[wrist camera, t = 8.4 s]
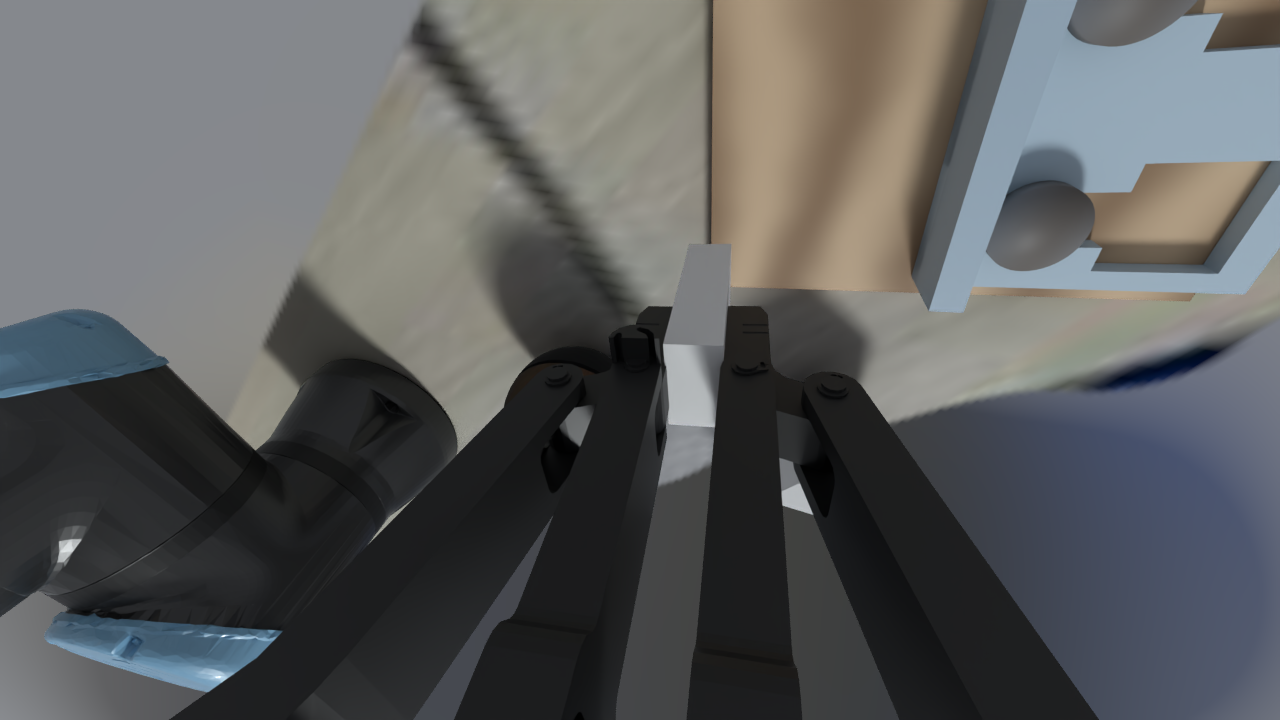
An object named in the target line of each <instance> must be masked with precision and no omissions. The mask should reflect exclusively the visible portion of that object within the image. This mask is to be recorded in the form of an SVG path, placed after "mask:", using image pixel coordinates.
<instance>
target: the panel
mask: <svg viewBox="0 0 1280 720" xmlns="http://www.w3.org/2000/svg"><path fill="white" fill-rule="evenodd" d="M1076 2H1077V0H988V2H987V6H986V10H985V13H984V17H983V20H982V24H981V28H980V31H979V35H978V38H977V42H976V46H975V49H974V53H973V57H972V60H971V64H970V67H969V71H968V75H967V78H966V82H965V85H964V89H963V93H962V96H961V100H960V103H959V107H958V111H957V114H956V118H955V121H954V125H953V129H952V132H951V136H950V139H949V143H948V147H947V150H946V154H945V157H944V161H943V165H942V168H941V172H940V175H939V179H938V183H937V186H936V190H935V193H934V197H933V201H932V204H931V208H930V211H929V215H928V219H927V222H926V226H925V229H924V233H923V237H922V240H921V244H920V248H919V251H918V255H917V258H916V262H915V266H914V269H913V273H912V276H911V277H912V279H913V281H914V283H915V285H916V287H917V289H918V291H919V293H920V295H921V297H922V299H923V301H924V303H925V305H926V307H927V309H928V311H937V312H962V313H963V312H964V309H965V307H966V304H967V301H968V298H969V296H970V293H971V290H972V287H1005V288H1040V289H1076V290H1111V291H1147V292H1182V293H1217V294H1245V293H1246V292H1247V291H1248V289H1249V288H1250V287H1251V285H1252V284H1253V283H1254V281H1255V280H1256V279H1257V277H1258V276H1259V275H1260V273H1261V272H1262V270H1263V269H1264V268H1265V266H1266V265H1267V264H1268V262H1269V261H1270V260H1271V258H1272V257H1273V256H1274V254H1275V253H1276V252H1277V250H1278V249H1279V248H1280V44H1277V45H1262V46H1246V47H1231V48H1216V49H1205V48H1206V46H1207V44H1208V42H1209V40H1210V38H1211V36H1212V34H1213V32H1214V30H1215V28H1216V26H1217V24H1218V22H1219V20H1220V18H1221V17H1222V15H1223V13H1197V14H1184V15H1183V16H1182V17H1180V18H1179V19H1178V20H1177V21H1175V22H1174V23H1173V24H1171V25H1170V26H1168V27H1167V28H1165V29H1164V30H1162V31H1160V32H1159V33H1157V34H1155V35H1153V36H1151V37H1149V38H1147V39H1145V40H1142V41H1139V42H1136V43H1133V44H1129V45H1125V46H1117V47H1107V46H1099V45H1091V44H1087V43H1084V42H1082V41H1080V40H1078V39H1076V38H1075V37H1074V36H1073V35H1072V34H1071V33H1070V32H1069V31H1068V29H1067V27H1068V24H1069V22H1070V19H1071V16H1072V13H1073V11H1074V8H1075V5H1076ZM1244 161H1271V163H1270V164H1269V166H1268V167H1267V169H1266V170H1265V172H1264V173H1263V175H1262V176H1261V178H1260V179H1259V181H1258V182H1257V184H1256V185H1255V187H1254V188H1253V190H1252V191H1251V193H1250V194H1249V196H1248V197H1247V199H1246V200H1245V202H1244V203H1243V205H1242V207H1241V208H1240V210H1239V211H1238V213H1237V214H1236V216H1235V217H1234V219H1233V220H1232V222H1231V223H1230V225H1229V226H1228V228H1227V229H1226V231H1225V232H1224V234H1223V235H1222V237H1221V238H1220V240H1219V241H1218V243H1217V244H1216V246H1215V247H1214V249H1213V251H1212V252H1211V254H1210V255H1209V257H1208V258H1207V260H1206V261H1205V263H1204V264H1203V265H1187V264H1129V263H1095V261H1096V259H1097V258H1098V256H1099V254H1100V252H1101V250H1102V247H1100V246H1099V245H1098V244H1096V243H1095V242H1094V241H1092V240H1085V241H1084V242H1083V243H1082V245H1081V246H1080V247H1079V248H1078V249H1077V250H1075V251H1074V252H1073V253H1072V254H1071V255H1069V256H1068V257H1066V258H1065V259H1063V260H1061V261H1059V262H1058V263H1056V264H1053V265H1051V266H1048V267H1045V268H1042V269H1038V270H1033V271H1014V270H1009V269H1006V268H1003V267H1001V266H999V265H998V264H997V263H995V262H994V261H993V260H992V259H991V257H990V256H989V255H988V254H987V253H986V249H987V246H988V243H989V241H990V238H991V235H992V233H993V230H994V227H995V224H996V222H997V219H998V216H999V213H1000V211H1001V208H1002V205H1003V202H1004V200H1005V197H1006V194H1009V193H1010V192H1012V191H1014V190H1016V189H1018V188H1020V187H1022V186H1024V185H1027V184H1030V183H1034V182H1039V181H1047V180H1053V181H1061V182H1065V183H1068V184H1070V185H1072V186H1074V187H1075V188H1077V189H1079V190H1080V191H1082V192H1083V193H1108V192H1131V191H1132V190H1133V188H1134V186H1135V184H1136V182H1137V180H1138V178H1139V176H1140V174H1141V172H1142V170H1143V168H1144V166H1145V164H1154V163H1199V162H1244Z"/></svg>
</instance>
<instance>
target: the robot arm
mask: <svg viewBox="0 0 1280 720" xmlns="http://www.w3.org/2000/svg"><path fill="white" fill-rule="evenodd" d="M730 286H731V244H689V247H688V251H687V255H686V259H685V263H684V266H683V270H682V274H681V278H680V282H679V285H678V289H677V293H676V297H675V301H674V304H673V307H659V306H648V307H647V308H646V309H645V310H644V311H643V312H641V313H640V314H639V317H638V319H637V322H636V325H629V326H626V327H622V328H619V329H618V330H616V331H614V332H613V333H612V334H611V335H610V336H609V343H610V349H611V356H612V363H613V364H612V366H611V369H610V370H608V371H606V372H602V373H598V374H593V375H587V376H583V372H582V370H581V369H580V368H579V367H578V366H575V365H573V364H564V363H562V364H555V365H552V366H549V367H547V368H544V369H543V370H541V371H540V372H539V373H537V374H536V375H535V376H534V377H533V378H532V379H531V380H530V381H529V383H528V384H527V385H526V386H525V387H524V388H523V389H522V390H521V391H520V392H519V393H518V394H517V395H516V396H515V397H514V398H513V399H512V400H511V401H510V402H509V403H508V404H507V405H506V406H505V407H504V408H503V409H502V410H501V411H500V412H499V413H498V414H497V415H496V416H495V417H494V418H493V419H492V420H491V421H490V422H489V423H488V424H487V425H486V426H485V427H484V428H483V429H482V430H481V431H480V432H479V433H478V434H477V435H476V436H475V437H474V438H473V439H472V440H471V441H470V442H469V443H468V444H467V445H466V446H465V447H464V448H463V449H462V450H461V451H460V452H459V453H458V454H457V438H456V435H455V432H454V429H453V427H452V425H451V423H450V421H449V419H448V418H447V416H446V415H445V413H444V412H443V411H442V409H441V408H440V407H439V406H438V405H437V404H436V402H435V401H434V400H433V399H432V398H431V397H430V396H429V395H427V394H426V393H425V392H424V391H423V390H422V389H420V388H419V387H418V386H416V385H415V384H414V383H412V382H411V381H409V380H408V379H406V378H404V377H403V376H401V375H399V374H397V373H396V372H394V371H391V370H389V369H387V368H385V367H382V366H380V365H377V364H374V363H370V362H366V361H361V360H354V359H343V360H336V361H333V362H330V363H328V364H326V365H324V366H323V367H322V368H321V369H319V370H318V371H317V372H316V373H314V374H313V375H312V376H311V377H309V378H308V379H307V380H306V381H305V382H304V383H303V384H302V386H301V387H300V389H299V392H298V394H297V396H296V398H295V400H294V401H293V402H292V404H291V405H290V407H289V408H288V410H287V412H286V413H285V415H284V416H283V418H282V419H281V421H280V423H279V424H278V426H277V428H276V429H275V431H274V432H273V434H272V436H271V437H270V438H269V439H268V440H267V441H266V442H265V443H264V444H263V445H262V446H260V447H259V448H258V449H257V450H256V451H255V450H254V449H253V448H252V447H251V446H250V445H249V444H248V443H247V442H246V441H245V440H244V439H243V438H242V437H241V436H240V435H239V434H238V433H236V432H235V431H234V430H233V429H232V428H231V427H230V426H229V425H228V424H227V423H226V422H225V421H224V420H223V419H222V418H220V417H219V415H217V414H216V413H215V412H214V411H213V410H212V409H211V408H210V407H209V406H208V405H207V404H206V403H205V402H204V401H203V400H202V399H201V398H200V397H199V396H198V395H197V394H196V393H195V392H194V391H193V390H192V389H191V388H190V387H189V386H188V385H187V384H186V383H185V382H184V381H183V380H182V379H181V378H180V377H179V376H178V375H177V374H175V373H174V371H173V370H171V369H170V368H169V367H168V366H167V365H166V364H168V363H169V361H168V360H167V359H166V358H165V357H162V356H157V355H156V354H155V353H154V352H153V351H152V350H150V349H149V348H148V347H147V346H146V345H145V344H143V343H142V342H141V341H140V340H139V339H138V338H137V337H135V336H134V335H133V334H132V333H130V331H128V330H127V329H126V328H125V327H124V326H123V325H121V324H120V323H119V322H118V321H116V320H115V319H113V318H112V317H109V316H108V315H105V314H103V313H99V312H96V311H91V310H83V309H71V310H70V309H69V310H62V311H58V312H54V313H50V314H47V315H44V316H40V317H37V318H33V319H30V320H27V321H23V322H20V323H17V324H14V325H10V326H7V327H3V328H0V617H1V616H2V615H4V614H5V613H6V612H8V611H9V610H10V609H12V608H13V607H15V606H16V605H17V604H19V603H20V602H21V601H23V600H24V599H25V598H27V597H28V596H29V595H31V594H32V593H35V592H36V591H40V592H42V593H44V594H45V595H47V596H49V597H51V598H53V599H54V600H56V601H58V602H59V603H61V604H63V605H64V606H66V607H67V611H65V612H61V613H59V614H58V615H57V616H55V617H54V618H53V623H52V624H51V625H50V627H49V628H48V629H47V631H46V632H45V636H44V637H45V640H46V641H47V642H49V643H50V644H56V645H57V646H59V647H61V648H64V649H65V650H68V651H70V652H73V653H76V654H78V655H81V656H84V657H87V658H90V659H93V660H96V661H99V662H102V663H105V664H108V665H112V666H115V667H118V668H121V669H124V670H128V671H131V672H134V673H138V674H141V675H145V676H148V677H152V678H155V679H158V680H162V681H166V682H170V683H173V684H177V685H180V686H184V687H188V688H192V689H196V690H201V691H205V692H208V693H206V694H205V695H203V696H202V697H201V698H199V699H198V700H196V701H195V702H193V703H192V704H191V705H189V706H188V707H187V708H185V709H184V710H182V711H181V712H179V713H178V714H177V715H175V716H174V717H173V718H171V719H169V720H413V719H414V718H415V716H416V714H417V713H418V712H419V710H420V709H421V707H422V706H423V704H424V703H425V701H426V700H427V699H428V697H429V696H430V694H431V693H432V691H433V690H434V688H435V687H436V685H437V684H438V683H439V681H440V680H441V678H442V677H443V675H444V674H445V672H446V671H447V669H448V668H449V667H450V665H451V664H452V662H453V660H454V659H455V658H456V656H457V655H458V653H459V652H460V650H461V649H462V648H463V646H464V645H465V643H466V642H467V640H468V639H469V637H470V636H471V634H472V633H473V631H474V630H475V629H476V627H477V626H478V624H479V623H480V621H481V620H482V618H483V617H484V615H485V614H486V613H487V611H488V610H489V608H490V607H491V605H492V604H493V602H494V601H495V599H496V598H497V596H498V595H499V594H500V592H501V591H502V589H503V588H504V586H505V585H506V583H507V582H508V580H509V579H510V577H511V576H512V575H513V573H514V572H515V570H516V569H517V567H518V566H519V564H520V563H521V561H522V560H523V559H524V557H525V555H526V554H527V553H528V551H529V550H530V548H531V547H532V545H533V544H534V542H535V541H536V540H537V538H538V536H539V535H540V534H541V532H542V531H543V529H544V528H545V526H546V525H547V523H548V522H549V521H550V519H551V518H552V516H553V518H552V520H551V523H550V525H549V528H548V531H547V533H546V536H545V538H544V541H543V544H542V546H541V548H540V551H539V554H538V556H537V559H536V561H535V564H534V567H533V569H532V572H531V574H530V577H529V580H528V582H527V584H526V587H525V590H524V592H523V595H522V597H521V600H520V602H519V605H518V607H517V609H516V611H515V613H514V615H513V616H512V617H511V618H510V619H507V620H504V621H501V622H500V623H499V624H498V625H497V626H496V627H495V629H494V630H493V631H492V633H491V635H490V637H489V639H488V641H487V643H486V645H485V647H484V649H483V652H482V654H481V657H480V659H479V661H478V664H477V666H476V668H475V671H474V673H473V676H472V678H471V681H470V683H469V685H468V688H467V690H466V692H465V695H464V697H463V700H462V702H461V704H460V707H459V709H458V712H457V714H456V716H455V719H454V720H616V703H617V696H618V689H619V685H620V679H621V674H622V669H623V664H624V659H625V653H626V648H627V643H628V638H629V632H630V627H631V622H632V617H633V612H634V606H635V601H636V596H637V591H638V585H639V580H640V575H641V570H642V565H643V559H644V554H645V549H646V543H647V538H648V533H649V528H650V523H651V518H652V512H653V507H654V502H655V497H656V492H657V486H658V481H659V476H660V471H661V465H662V460H663V455H664V450H665V445H666V439H667V433H666V421H667V416H668V418H669V424H672V425H688V426H704V427H715V433H714V445H713V456H712V468H711V480H710V491H709V502H708V514H707V526H706V537H705V549H704V561H703V572H702V583H701V594H700V605H699V617H698V628H697V640H696V646H695V649H694V653H693V659H692V668H691V677H690V688H689V699H688V710H687V720H802V711H801V697H800V687H799V678H798V672H797V668H796V666H795V664H794V662H793V656H792V646H791V630H790V614H789V599H788V584H787V570H786V569H787V568H786V554H785V537H784V522H783V506H782V491H781V475H780V460H779V458H781V459H785V460H788V461H791V462H793V466H794V470H795V473H796V475H797V478H798V480H799V482H800V485H801V487H802V489H803V492H804V494H805V497H806V499H807V501H808V504H809V506H810V508H811V511H812V513H813V516H814V518H815V520H816V523H817V525H818V527H819V530H820V532H821V535H822V537H823V539H824V542H825V544H826V546H827V549H828V551H829V554H830V556H831V558H832V561H833V563H834V565H835V568H836V570H837V572H838V575H839V577H840V580H841V582H842V584H843V587H844V589H845V592H846V594H847V596H848V599H849V601H850V603H851V606H852V608H853V611H854V613H855V615H856V618H857V620H858V622H859V625H860V627H861V630H862V632H863V634H864V637H865V639H866V641H867V644H868V646H869V648H870V651H871V653H872V656H873V658H874V660H875V663H876V665H877V668H878V670H879V672H880V674H881V677H882V679H883V682H884V684H885V687H886V689H887V691H888V694H889V696H890V699H891V701H892V703H893V705H894V708H895V710H896V713H897V715H898V718H899V720H1099V719H1098V718H1097V716H1096V715H1095V713H1094V712H1093V711H1092V709H1091V708H1090V706H1089V705H1088V704H1087V703H1086V701H1085V699H1084V698H1083V697H1082V695H1081V694H1080V693H1079V691H1078V690H1077V688H1076V687H1075V685H1074V684H1073V683H1072V681H1071V680H1070V678H1069V677H1068V676H1067V674H1066V673H1065V671H1064V670H1063V668H1062V667H1061V666H1060V664H1059V663H1058V661H1057V660H1056V659H1055V657H1054V656H1053V655H1052V653H1051V652H1050V650H1049V649H1048V648H1047V646H1046V645H1045V643H1044V642H1043V640H1042V639H1041V638H1040V636H1039V635H1038V633H1037V632H1036V631H1035V629H1034V628H1033V626H1032V625H1031V623H1030V622H1029V621H1028V619H1027V618H1026V616H1025V615H1024V614H1023V612H1022V611H1021V610H1020V608H1019V607H1018V605H1017V604H1016V603H1015V601H1014V600H1013V598H1012V597H1011V595H1010V594H1009V593H1008V591H1007V590H1006V588H1005V587H1004V586H1003V584H1002V583H1001V581H1000V580H999V579H998V577H997V576H996V574H995V573H994V571H993V570H992V569H991V567H990V566H989V564H988V563H987V562H986V560H985V559H984V557H983V556H982V555H981V553H980V552H979V550H978V549H977V548H976V546H975V545H974V543H973V542H972V541H971V539H970V538H969V536H968V535H967V533H966V532H965V531H964V529H963V528H962V526H961V525H960V524H959V523H958V521H957V520H956V518H955V517H954V515H953V514H952V512H951V511H950V510H949V508H948V507H947V505H946V504H945V503H944V501H943V500H942V498H941V497H940V496H939V494H938V493H937V491H936V490H935V488H934V487H933V486H932V485H931V483H930V482H929V480H928V479H927V477H926V476H925V475H924V473H923V472H922V470H921V469H920V468H919V466H918V465H917V463H916V462H915V460H914V459H913V458H912V456H911V455H910V454H909V452H908V451H907V449H906V448H905V446H904V445H903V443H902V442H901V441H900V439H899V438H898V436H897V435H896V434H895V432H894V431H893V429H892V428H891V427H890V425H889V424H888V422H887V421H886V420H885V418H884V417H883V415H882V414H881V413H880V411H879V410H878V408H877V407H876V406H875V404H874V403H873V401H872V400H871V398H870V397H869V396H868V394H867V393H866V391H865V390H864V389H863V387H862V386H861V385H860V384H859V383H858V382H857V381H856V380H855V379H853V378H851V377H849V376H847V375H844V374H840V373H836V372H820V373H816V374H813V375H811V376H810V377H808V378H806V380H805V382H804V383H803V382H799V381H795V380H792V379H789V378H786V377H784V376H782V375H780V374H779V373H778V372H777V371H775V369H774V368H773V366H772V364H771V360H770V344H769V328H768V315H767V314H766V312H765V311H764V310H763V309H762V308H761V307H760V306H730ZM456 454H457V455H456ZM415 496H416V497H415ZM414 497H415V498H414ZM413 498H414V499H413ZM412 499H413V500H412ZM411 500H412V501H411ZM409 501H411V502H410V503H409V504H408V505H407V506H406V507H405V508H404V509H403V510H402V511H401V512H400V513H399V514H398V515H397V516H396V517H395V518H394V519H393V520H392V521H391V522H390V523H389V524H388V525H387V526H386V527H385V528H384V529H383V530H382V531H381V532H380V533H379V534H378V535H377V536H376V537H375V538H374V539H373V537H374V536H375V534H376V533H377V532H378V531H379V529H380V528H381V527H382V525H383V524H384V523H385V521H386V520H387V519H388V518H389V517H390V516H391V515H392V514H393V513H395V512H396V511H397V510H399V509H400V508H402V507H403V506H404V505H406V504H407V503H408V502H409ZM372 539H373V540H372ZM371 540H372V541H371ZM370 541H371V542H370ZM369 543H370V544H369ZM368 544H369V545H368ZM367 545H368V546H367Z"/></svg>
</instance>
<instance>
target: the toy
mask: <svg viewBox="0 0 1280 720" xmlns="http://www.w3.org/2000/svg"><path fill="white" fill-rule="evenodd" d="M562 363H564V364H573V365H575V366H578V367H579V368H580V369H581V370H582V372H583V376H587V375H593V374H598V373H602V372H606V371H608V370H610V369H611V366H612V364H613V363H612V359H611V358H609V357H608V356H606V355H604V354H602V353H600V352H598V351H596V350H593V349H589V348H584V347H563V348H558V349H554V350H551V351H549V352H547V353H544V354H542V355H540V356H539V357H537V358H536V359H534V360H533V361H532V362H531V363H530V364H528V365H527V366H526V367H525V368H524V369H523V370H522V372H521V373H520V374H519V375H518V377H517V378H516V380H515V381H514V383H513V384H512V386H511V388H510V390H509V392H508V395H507V397H506V400H505V404H504V407H505V406H506V405H507V404H508V403H509V402H510V401H511V400H512V399H513V398H514V397H515V396H516V395H517V394H518V393H519V392H520V391H521V390H522V389H523V388H524V387H525V386H526V385H527V384H528V383H529V381H530V380H531V379H532V378H533V377H534V376H535V375H536V374H537V373H539V372H540V371H541V370H543V369H544V368H547V367H549V366H552V365H555V364H562Z"/></svg>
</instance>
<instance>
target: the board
mask: <svg viewBox="0 0 1280 720" xmlns="http://www.w3.org/2000/svg"><path fill="white" fill-rule="evenodd" d="M987 2H988V0H713V91H712V217H711V244H731V286H730V287H751V288H783V289H814V290H846V291H878V292H909V293H919V291H918V289H917V287H916V285H915V283H914V281H913V279H912V277H911V276H912V273H913V269H914V266H915V262H916V258H917V255H918V251H919V248H920V244H921V240H922V237H923V233H924V229H925V226H926V222H927V219H928V215H929V211H930V208H931V204H932V201H933V197H934V193H935V190H936V186H937V183H938V179H939V175H940V172H941V168H942V165H943V161H944V157H945V154H946V150H947V147H948V143H949V139H950V136H951V132H952V129H953V125H954V121H955V118H956V114H957V111H958V107H959V103H960V100H961V96H962V93H963V89H964V85H965V82H966V78H967V75H968V71H969V67H970V64H971V60H972V57H973V53H974V49H975V46H976V42H977V38H978V35H979V31H980V28H981V24H982V20H983V17H984V13H985V10H986V6H987ZM1197 13H1223V15H1222V17H1221V18H1220V20H1219V22H1218V24H1217V26H1216V28H1215V30H1214V32H1213V34H1212V36H1211V38H1210V40H1209V42H1208V44H1207V46H1206V48H1205V49H1216V48H1231V47H1246V46H1262V45H1277V44H1280V0H1077V2H1076V5H1075V8H1074V11H1073V13H1072V16H1071V19H1070V22H1069V24H1068V27H1067V29H1068V31H1069V32H1070V33H1071V34H1072V35H1073V36H1074V37H1075V38H1076V39H1078V40H1080V41H1082V42H1084V43H1087V44H1091V45H1099V46H1107V47H1117V46H1125V45H1129V44H1133V43H1136V42H1139V41H1142V40H1145V39H1147V38H1149V37H1151V36H1153V35H1155V34H1157V33H1159V32H1160V31H1162V30H1164V29H1165V28H1167V27H1168V26H1170V25H1171V24H1173V23H1174V22H1175V21H1177V20H1178V19H1179V18H1180V17H1182V16H1183V15H1184V14H1197ZM1270 163H1271V161H1244V162H1199V163H1154V164H1145V166H1144V168H1143V170H1142V172H1141V174H1140V176H1139V178H1138V180H1137V182H1136V184H1135V186H1134V188H1133V190H1132V191H1131V192H1108V193H1083V192H1082V191H1080V190H1079V189H1077V188H1075V187H1074V186H1072V185H1070V184H1068V183H1065V182H1061V181H1053V180H1047V181H1039V182H1034V183H1030V184H1027V185H1024V186H1022V187H1020V188H1018V189H1016V190H1014V191H1012V192H1010V193H1009V194H1006V197H1005V200H1004V202H1003V205H1002V208H1001V211H1000V213H999V216H998V219H997V222H996V224H995V227H994V230H993V233H992V235H991V238H990V241H989V243H988V246H987V249H986V253H987V254H988V255H989V256H990V257H991V259H992V260H993V261H994V262H995V263H997V264H998V265H999V266H1001V267H1003V268H1006V269H1009V270H1014V271H1033V270H1038V269H1042V268H1045V267H1048V266H1051V265H1053V264H1056V263H1058V262H1059V261H1061V260H1063V259H1065V258H1066V257H1068V256H1069V255H1071V254H1072V253H1073V252H1074V251H1075V250H1077V249H1078V248H1079V247H1080V246H1081V245H1082V243H1083V242H1084V241H1085V240H1092V241H1094V242H1095V243H1096V244H1098V245H1099V246H1100V247H1102V250H1101V252H1100V254H1099V256H1098V258H1097V259H1096V261H1095V263H1129V264H1187V265H1203V264H1204V263H1205V261H1206V260H1207V258H1208V257H1209V255H1210V254H1211V252H1212V251H1213V249H1214V247H1215V246H1216V244H1217V243H1218V241H1219V240H1220V238H1221V237H1222V235H1223V234H1224V232H1225V231H1226V229H1227V228H1228V226H1229V225H1230V223H1231V222H1232V220H1233V219H1234V217H1235V216H1236V214H1237V213H1238V211H1239V210H1240V208H1241V207H1242V205H1243V203H1244V202H1245V200H1246V199H1247V197H1248V196H1249V194H1250V193H1251V191H1252V190H1253V188H1254V187H1255V185H1256V184H1257V182H1258V181H1259V179H1260V178H1261V176H1262V175H1263V173H1264V172H1265V170H1266V169H1267V167H1268V166H1269V164H1270ZM970 294H973V295H1005V296H1036V297H1068V298H1100V299H1131V300H1163V301H1190V300H1191V299H1192V297H1193V296H1194V295H1195V293H1182V292H1147V291H1111V290H1076V289H1040V288H1005V287H972V290H971V293H970Z"/></svg>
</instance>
